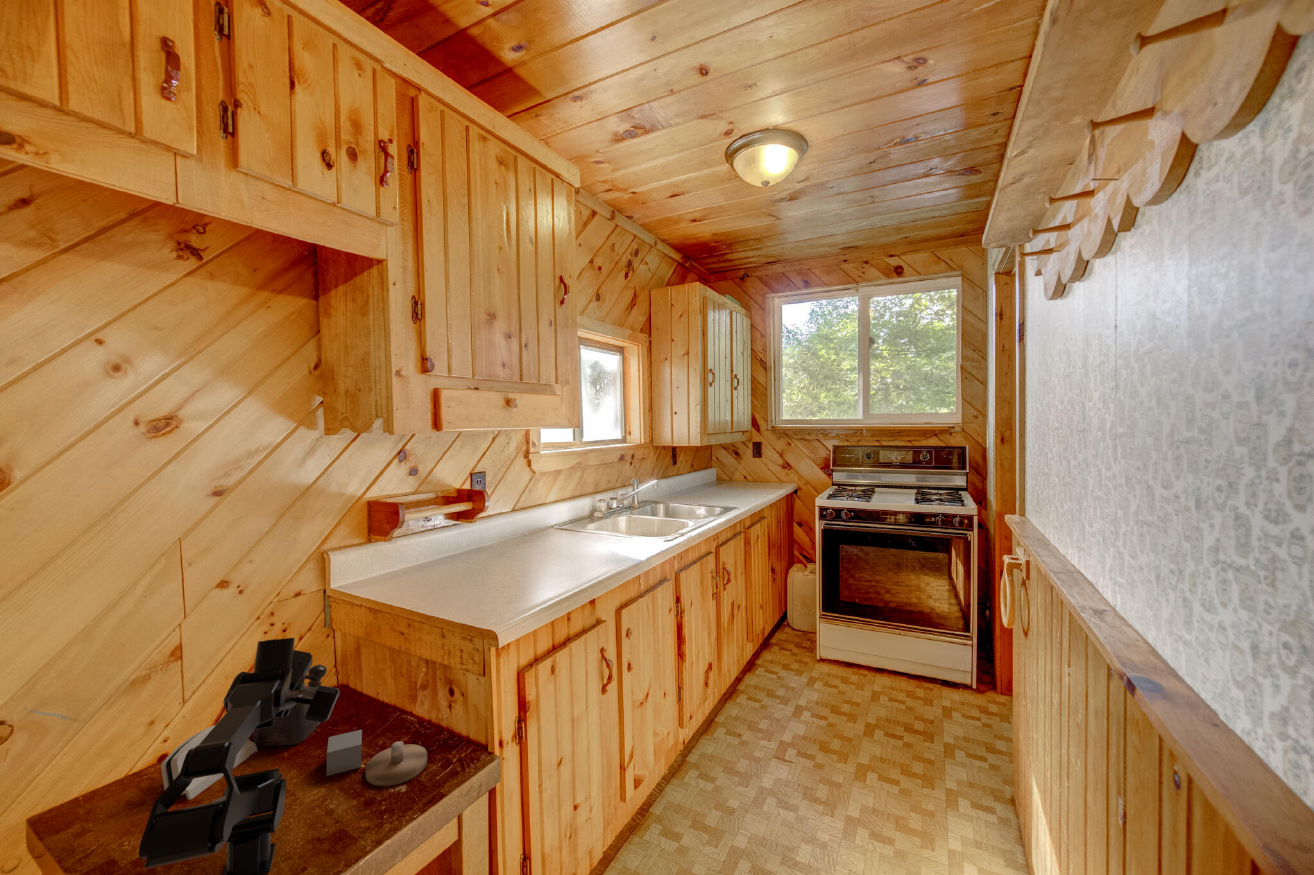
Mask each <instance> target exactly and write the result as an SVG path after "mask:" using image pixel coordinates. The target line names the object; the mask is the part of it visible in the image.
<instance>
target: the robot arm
mask: <svg viewBox="0 0 1314 875" xmlns="http://www.w3.org/2000/svg"><path fill="white" fill-rule="evenodd" d="M295 639H296V638H295V637H289V638H288V637H287V638H279V639H278V638H275V639H267V640H266V639H265V640H260V641H257V648H256V653H255V659H254V660H255V661H254V665H253V666H254V667H253V672H249V671H241V672H239V673H237V675H235V676H234V679H233V681H232V682H231V685H230V687H229V688H228V690H227V692H226V695H225V697H224V698H223V705H224V709H225V712H226V713H225V714H224V715H223V716H222V717H221V718H220V719H219V721H218V722H217V723H216V724H215V727H214V728H213V729H212V730H211V731H210V732H209V734H208V735H207V736H206V737H205V738H204V739H203V740H202V742H201V743H200V744H199V745H198V746H196V747H195V748H191V749H190V750H189V751H188V752H187V754H186V756H185V759H184V762H183V765H182V768H181V771H180V773H179V775H178V776H177V777H176V778H175V779H174V781H173V782H172V783H171V784H170V785H169V786H168V787H167V788H166V790H164V791H163V792H162V793H161V794H160V795H159V796H158V797H157V798H156V800H155V801H154V803H153V804H152V808H151V811H150V814H149V817H148V820H147V822H146V825H145V828H144V832H143V833H142V837H141V840H140V844H139V848H138V858H139V859H140V860H145V862H144V865H143V866H144V867H145V869H147V870H148V869H152V868H156V867H157V868H159V867H161V866H167V865H170V864H174V863H175V864H176V863H179V862H184V861H187V860H192V859H196V858H202V857H206V856H210V855H215V854H217V853H218V852H219V850H221V849H222V847H224V845H225V844H227V845H226V846H227V848H226V864H225V866H224V870H223V873H222V875H266V874H268V873H270V872H271V868H272V863H273V859H274V856H275V849H276V843H275V842H273V843H271V838H272V837H271V834H273V833H276V831H277V828H278V827H279V825H280V822H281V820H282V817H283V815H284V811H285V802H286V801H285V800H286V792H287V791H286V790H287V779H286V778H283V774H282V772H280V768H273V769H268V770H263V771H262V770H261V771H257V772H252V773H247V774H241V775H236V776H234V775H233V771H234V768H233V767H234V763H235V759H236V755H237V754H238V752H239V751H240V749H241V748H242V747H243V745H244V744H245V742H246V741H247V739H248V738H249V739H250V737H251V735H253V731H254V730H255V729H260V728H267V727H272V726H274V720H275V716H277V717H283V715H285V716H288V714H289V712H290V710H291V708H292V707H293V706H294V705H295V704H296V703H302V704H307V705H310V706H309V708H308V711H307V713H306V716H305V720H311V721H318V722H321V723H324V722H327V721H328V720H329V719H330V717H331V714H332V712H333V709H334V707H335V705H336V702H337V700H338V698H339V696H340V693H341V691H340V689H339V688H337V687H332V686H326V685H322V684H321V685H319V687H318V689H317V690H316V692H311V691H305V690H302V689H303V688H304V686H306V682H305V681H306V679H305V678H306V675H308V671H309V669H310V668H311V667H312V666H313V663H314V662H313V654H312V653H311V652H307V651H302V650H297V649H295ZM299 695H301V696H302V695H303V696H305V695H306V696H307V695H308V697H309V696H310V697H311V696H312V698H313V699H309V698H303V697H299ZM306 696H305V697H306ZM221 773H223V775H224V776H223V777H224V780H225V782H226V788H225V789H224V791H223V794H222V795H221V797H219V798H217V799H215V800H213V801H211V802H208V803H204V804H200V805H193V806H190V807H184V808H179V809H174V810H170V808H171V807H172V806H174V804H175V803H176V802H177V801H178V799H179V798H180V797H181V796H182V795H181V794H182V793H183V792H184V791H185V790H186V788H187V787H188V786H189V785H190V784H191V782H192V780H193V779H194V778H200V777H205V776H210V775H216V774H221Z"/></svg>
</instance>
